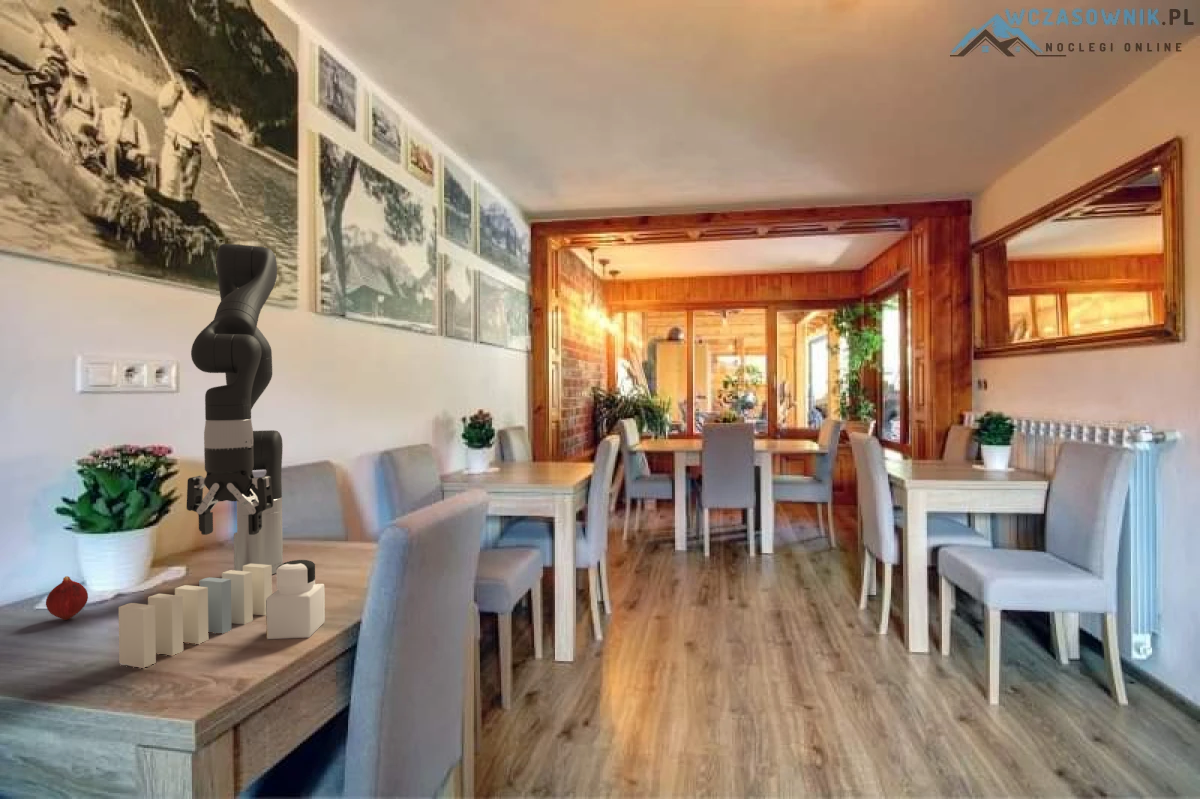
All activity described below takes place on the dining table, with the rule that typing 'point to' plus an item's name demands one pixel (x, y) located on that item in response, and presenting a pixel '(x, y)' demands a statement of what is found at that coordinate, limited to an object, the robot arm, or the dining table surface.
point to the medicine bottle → (295, 602)
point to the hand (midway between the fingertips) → (230, 533)
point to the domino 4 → (218, 604)
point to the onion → (66, 599)
